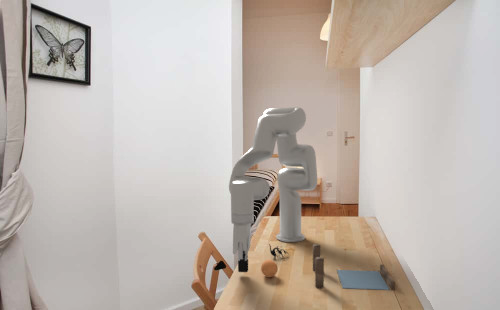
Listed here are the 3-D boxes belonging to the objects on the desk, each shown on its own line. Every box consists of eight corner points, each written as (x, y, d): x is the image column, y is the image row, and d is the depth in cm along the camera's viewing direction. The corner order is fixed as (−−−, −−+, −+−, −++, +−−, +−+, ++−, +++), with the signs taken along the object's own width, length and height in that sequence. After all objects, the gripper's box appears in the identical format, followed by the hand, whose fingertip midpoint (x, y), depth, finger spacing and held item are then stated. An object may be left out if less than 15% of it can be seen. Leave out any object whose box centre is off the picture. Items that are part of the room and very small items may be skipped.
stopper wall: (380, 271, 124) (380, 264, 124) (383, 271, 124) (383, 264, 124) (391, 290, 110) (391, 282, 110) (394, 290, 110) (394, 282, 110)
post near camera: (314, 284, 115) (315, 256, 114) (323, 284, 115) (323, 257, 114) (315, 288, 112) (315, 259, 112) (324, 288, 112) (324, 260, 111)
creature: (283, 255, 145) (265, 253, 142) (286, 242, 145) (268, 240, 142) (292, 262, 137) (273, 260, 134) (295, 248, 137) (276, 246, 134)
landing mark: (336, 270, 126) (336, 269, 126) (378, 271, 124) (378, 271, 124) (342, 288, 112) (342, 287, 112) (389, 290, 110) (389, 289, 110)
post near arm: (312, 268, 127) (312, 243, 127) (320, 269, 127) (320, 244, 126) (313, 271, 125) (313, 246, 124) (320, 272, 124) (320, 246, 124)
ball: (261, 272, 124) (261, 257, 124) (277, 273, 124) (277, 257, 123) (260, 279, 119) (260, 263, 119) (277, 280, 118) (277, 263, 118)
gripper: (234, 212, 129) (235, 262, 130) (227, 223, 114) (228, 280, 115) (256, 212, 128) (256, 263, 129) (251, 224, 113) (251, 281, 114)
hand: (243, 271), depth 122 cm, fingers closed
